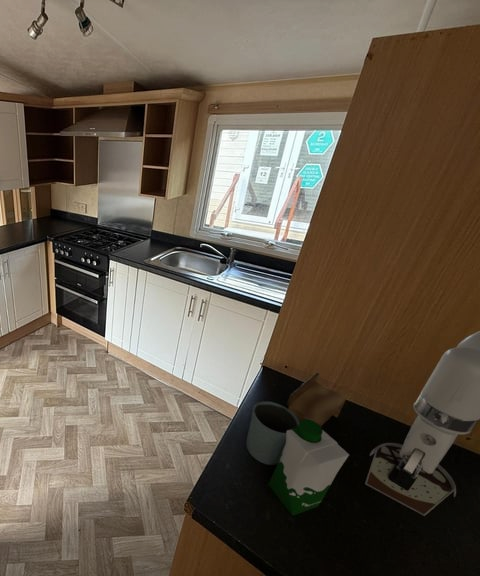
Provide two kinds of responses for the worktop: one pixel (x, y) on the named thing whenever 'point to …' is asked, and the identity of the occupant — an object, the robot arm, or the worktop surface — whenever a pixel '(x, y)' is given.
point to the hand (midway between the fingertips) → (404, 473)
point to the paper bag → (315, 402)
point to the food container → (421, 493)
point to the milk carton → (306, 467)
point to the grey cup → (269, 431)
